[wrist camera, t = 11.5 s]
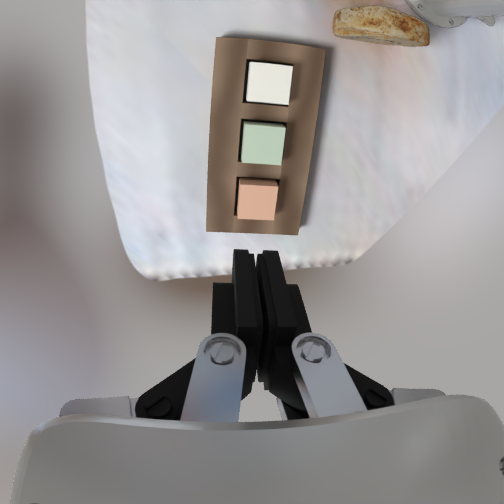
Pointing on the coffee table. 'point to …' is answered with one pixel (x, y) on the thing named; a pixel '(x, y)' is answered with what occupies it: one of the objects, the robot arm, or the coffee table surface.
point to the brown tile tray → (290, 116)
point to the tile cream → (269, 83)
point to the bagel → (380, 26)
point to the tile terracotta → (257, 198)
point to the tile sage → (262, 143)
